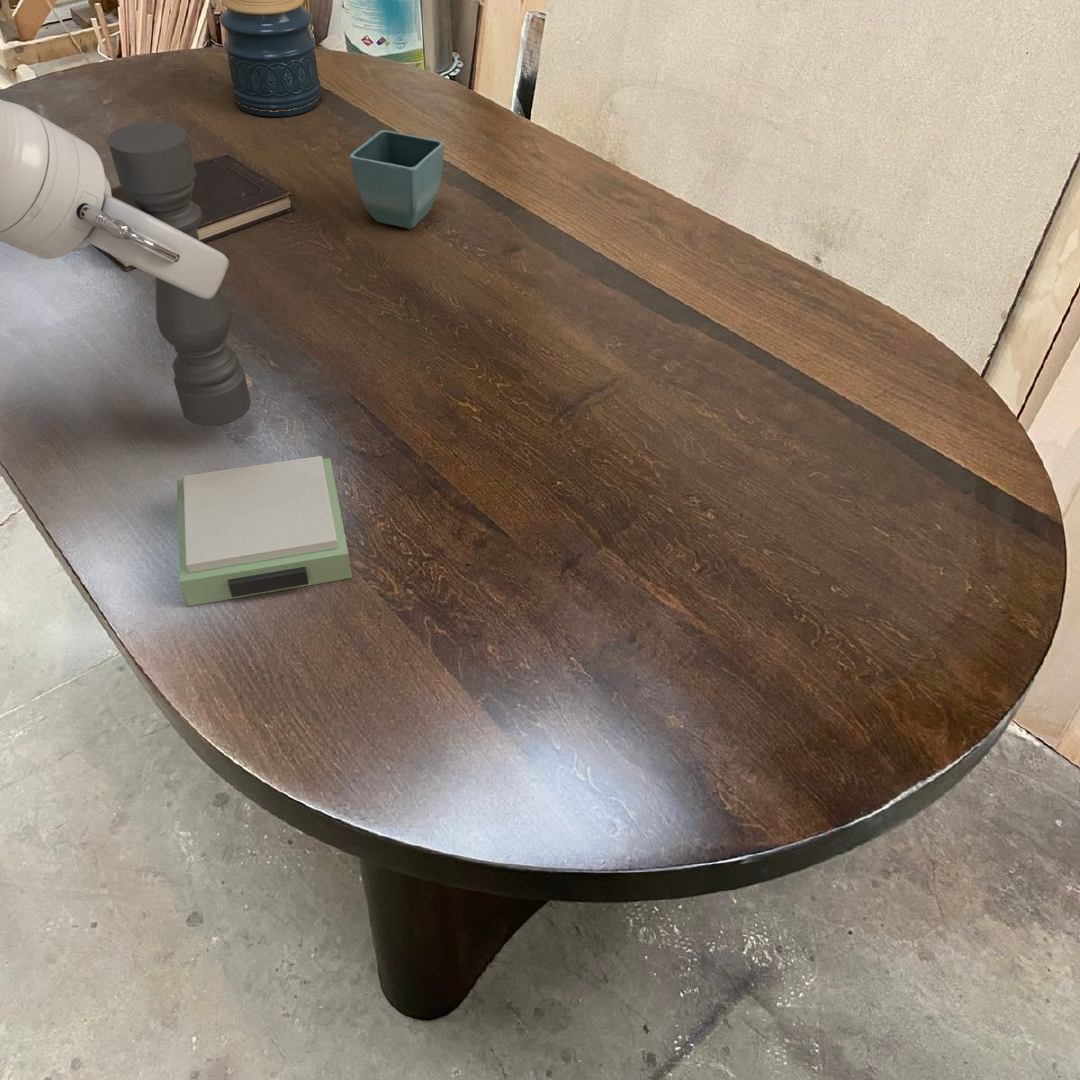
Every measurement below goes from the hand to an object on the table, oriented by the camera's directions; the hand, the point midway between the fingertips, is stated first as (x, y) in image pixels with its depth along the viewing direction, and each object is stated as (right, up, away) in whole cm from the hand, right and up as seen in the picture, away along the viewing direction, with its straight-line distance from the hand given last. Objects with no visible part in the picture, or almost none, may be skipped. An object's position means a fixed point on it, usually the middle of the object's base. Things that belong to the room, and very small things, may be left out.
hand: (186, 262), depth 80 cm
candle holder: (-1, -11, +10) cm, 15 cm away
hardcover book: (-16, +18, +41) cm, 47 cm away
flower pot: (+12, +18, +43) cm, 48 cm away
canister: (-10, +44, +67) cm, 81 cm away
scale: (+6, -23, +2) cm, 24 cm away
